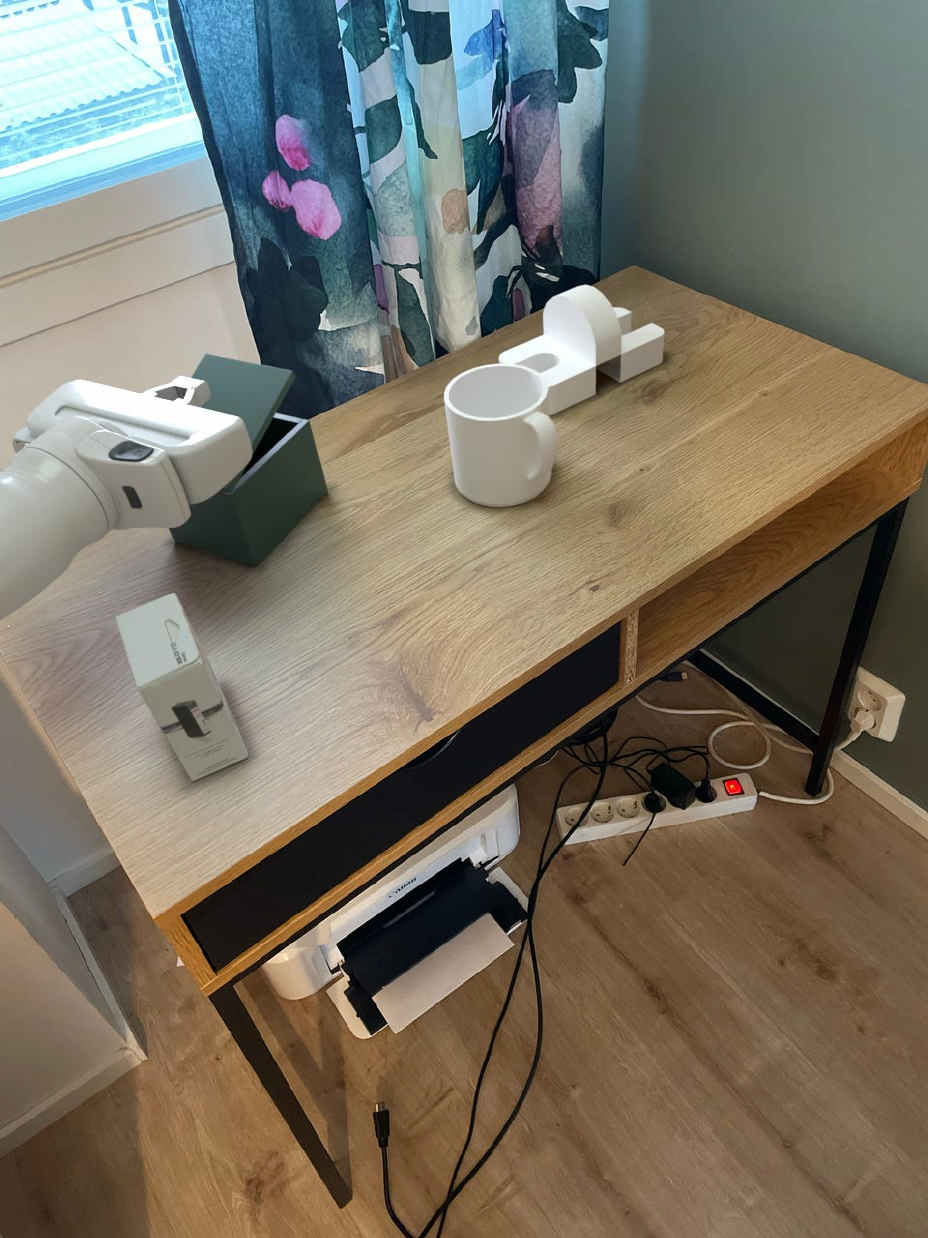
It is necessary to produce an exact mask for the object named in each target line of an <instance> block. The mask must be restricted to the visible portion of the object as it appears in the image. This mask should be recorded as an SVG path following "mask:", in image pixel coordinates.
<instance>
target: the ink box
mask: <svg viewBox="0 0 928 1238" xmlns="http://www.w3.org/2000/svg"><path fill="white" fill-rule="evenodd" d="M181 603H182V602H180V599H179V597H178V594H176V593H174V592H172V593H169V594H165V595H164V596H160V597H158V598H157V599H154V600H152V601H150V602H147V603H145V604H143V605H140V606H138V607H135V608H133V609H130V610H127V611H125V612H123V613H120V614H118V615H116V616H115V617H114V619H115V622H116V625H117V629H118V631H119V632H118V633H119V635H120V638H121V642H122V645H123V648H124V651H125V654H126V658H127V661H128V665H129V668H130V671H131V675H132V677H133V680H134V683H135V687H136V689H137V691H138V693H139V694H140V696H141V697H142V699H143V701H144V703H145V705H146V706H147V708H148V710H149V711H150V713H151V714H152V717H153V718H154V720H155V721H156V723H157V726H159V728H160V730H161V732H162V733H163V735H164V736H165V738H166V740H167V741H168V743H169V745H170V746H171V749H172V750H173V751H174V753H175V755H176V756H177V759H178V760H179V762H180V764H181V765H182V767H183V768H184V771H185V772H186V774H187V775H188V777H189V778H190V780H191V781H192V782H195V781H197V780H200V779H201V778H204V777H207V776H209V775H211V774H213V773H216V772H219V771H220V770H223V769H224V768H226V767H229V766H232V765H233V764H236V763H238V762H241V761H243V760H246V759H247V758H248V757H249V753H248V749H247V747H246V745H245V743H244V740H243V737H242V735H241V733H240V730H239V727H238V724H237V722H236V720H235V717H234V714H233V713H232V710H231V707H230V705H229V703H228V699H227V698H226V695H225V693H224V690H223V688H222V686H221V684H220V682H219V680H218V678H217V676H216V675H217V674H215V670H213V667H212V665H211V663H210V661H209V659H208V656H207V655H206V653H205V651H204V649H203V647H202V646H203V645H201V642H200V640H199V638H198V636H197V634H196V632H195V630H194V628H193V625H192V623H191V622H190V619H189V618H188V616H187V614H186V612H185V610H184V607H183V606H182V604H181Z"/></svg>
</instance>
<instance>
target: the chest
mask: <svg viewBox="0 0 928 1238" xmlns="http://www.w3.org/2000/svg"><path fill="white" fill-rule="evenodd" d="M327 493H328V486H327V482H326V479H325V474H324V471H323V467H322V463H321V459H320V455H319V452H318V448H317V444H316V441H315V437H314V432H313V428H312V425H311V420H309V419H306V418H300V417H297V416H291V415H287V414H282V413H280V412H279V413H278V412H276V413H275V415H274V417H273V419H272V421H271V423H270V424H269V426H268V428H267V430H266V432H265V433H264V435H263V437H262V439H261V441H260V442H259V444H258V446H257V448H256V450H255V452H254V453H253V455H252V458H251V460H250V462H249V463H248V464H247V466H246V468H245V470H244V471H243V473H242V475H241V477H240V479H239V481H238V482H237V484H236V486H235V488H234V490H233V491H232V493H228V492H224V491H221V490H220V491H218V492H217V493H216V494H215V495H213V496H212V497H210V498H209V499H207V500H205V501H203V502H200V503H197V504H191V505H189V508H190V511H191V516H190V518H189V519H188V520H187V521H186V522H185V523H184V524H182V525H181V526H179V527H175V528H168V530H169V532H170V534H171V537H172V539H173V541H174V542H176V543H179V544H182V545H185V546H189V547H192V548H194V549H198V550H201V551H205V552H208V553H211V554H213V555H218V556H220V557H223V558H227V559H230V560H232V561H235V562H240V563H241V564H242V563H243V564H246V565H250V566H252V567H256V568H257V567H259V565H260V564H261V563H262V562H263V561H264V560H265V559H266V558H267V557H268V556H269V555H270V553H272V552H273V550H274V549H275V548H276V547H277V546H278V545H279V544H280V543H281V542H282V541H283V540H284V539H285V538H286V536H288V534H289V533H291V531H293V529H294V528H295V527H296V526H297V525H298V524H299V523H300V522H301V520H302V519H304V517H305V516H306V515H307V514H308V513H309V512H310V511H311V510H312V509H313V508H314V507H315V506H316V505H317V503H318V502H319V501H321V499H323V497H324V496H325V495H327Z"/></svg>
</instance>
